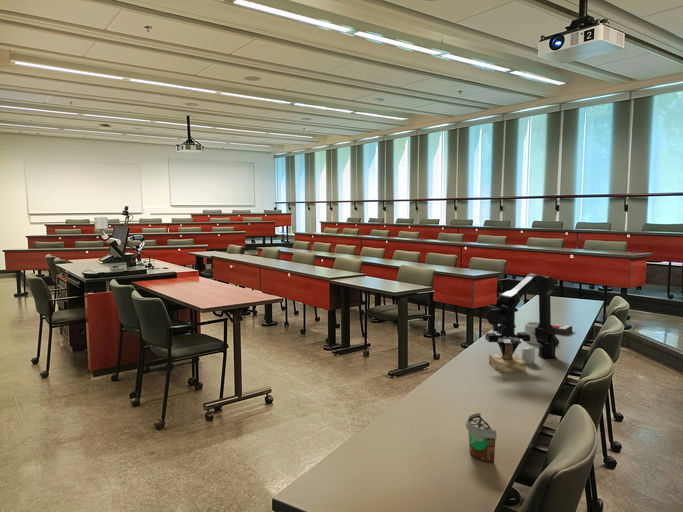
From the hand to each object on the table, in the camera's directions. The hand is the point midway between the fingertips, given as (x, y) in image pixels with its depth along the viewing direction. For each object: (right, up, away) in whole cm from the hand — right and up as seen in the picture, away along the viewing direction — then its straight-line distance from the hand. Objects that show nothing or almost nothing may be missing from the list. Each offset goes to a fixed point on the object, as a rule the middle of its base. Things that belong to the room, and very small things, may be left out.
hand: (507, 355), depth 208 cm
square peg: (0, -3, 0) cm, 3 cm away
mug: (+31, -1, +39) cm, 50 cm away
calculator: (+50, 0, +61) cm, 79 cm away
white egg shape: (+12, -5, +6) cm, 14 cm away
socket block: (0, -5, +1) cm, 5 cm away
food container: (-36, -13, -74) cm, 83 cm away
